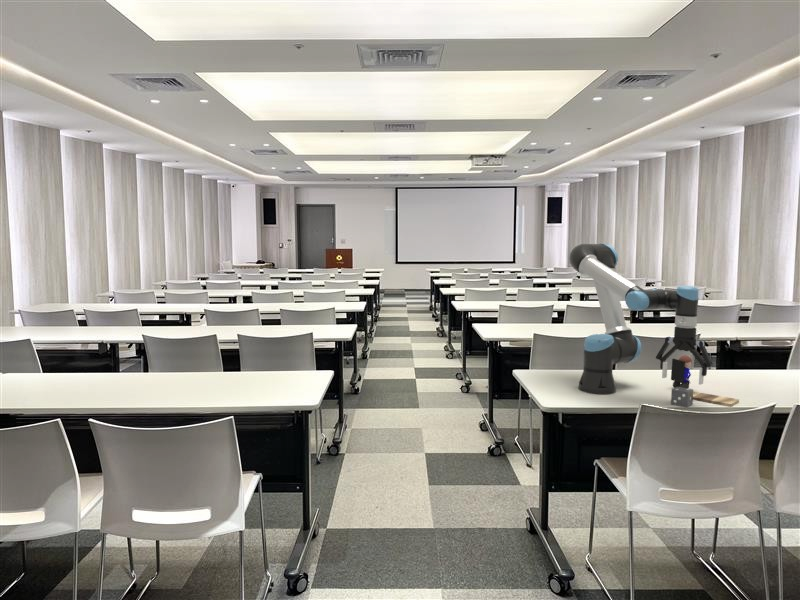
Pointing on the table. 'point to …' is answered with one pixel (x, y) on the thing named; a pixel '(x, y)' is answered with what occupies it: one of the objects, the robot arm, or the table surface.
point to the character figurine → (681, 371)
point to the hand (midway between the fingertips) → (682, 380)
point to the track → (714, 399)
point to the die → (682, 397)
